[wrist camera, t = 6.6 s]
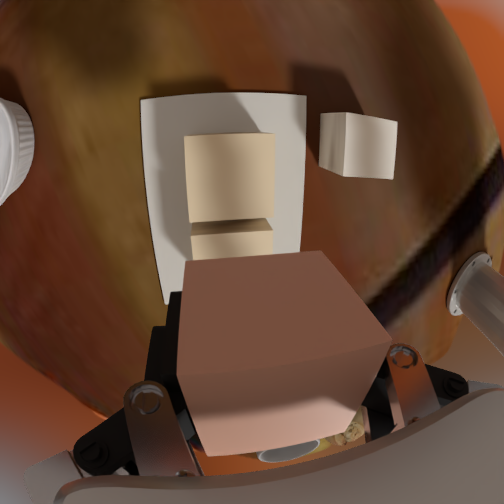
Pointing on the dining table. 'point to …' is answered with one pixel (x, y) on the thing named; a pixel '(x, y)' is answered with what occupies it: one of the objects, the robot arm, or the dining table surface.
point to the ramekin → (14, 147)
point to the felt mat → (174, 173)
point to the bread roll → (349, 431)
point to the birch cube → (357, 145)
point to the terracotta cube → (273, 350)
